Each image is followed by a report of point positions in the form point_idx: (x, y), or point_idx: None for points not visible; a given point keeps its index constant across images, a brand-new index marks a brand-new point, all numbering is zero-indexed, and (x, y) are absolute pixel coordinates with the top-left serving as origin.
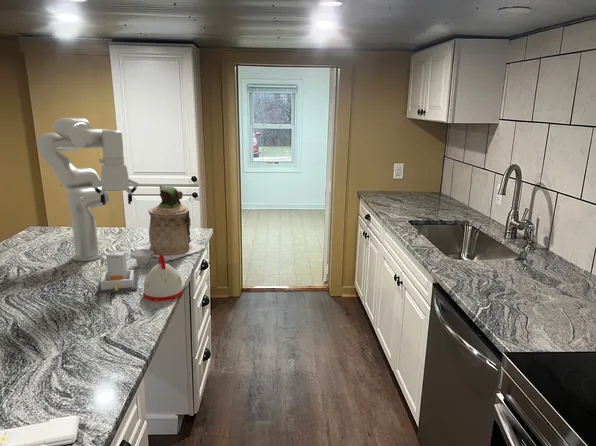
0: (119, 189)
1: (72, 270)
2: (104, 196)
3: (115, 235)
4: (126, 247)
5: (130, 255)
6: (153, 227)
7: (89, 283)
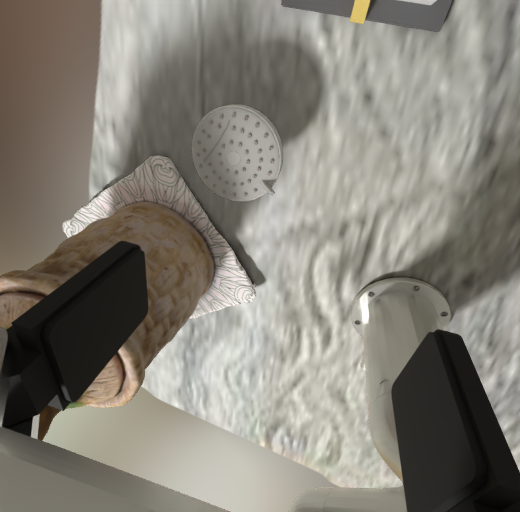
0: (52, 500)
1: (492, 211)
2: (437, 470)
3: (286, 417)
4: (274, 333)
5: (281, 152)
6: (156, 292)
7: (498, 4)
